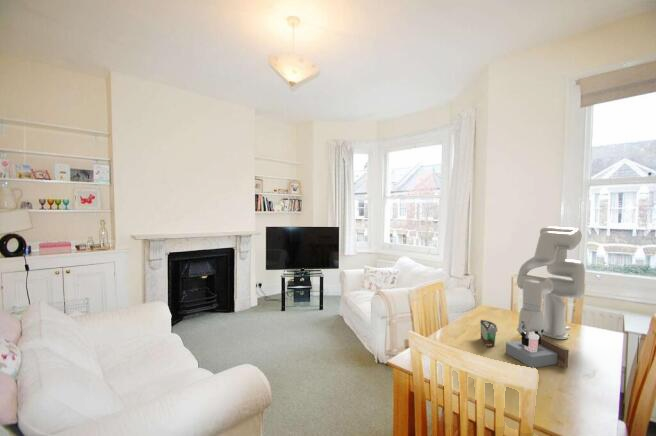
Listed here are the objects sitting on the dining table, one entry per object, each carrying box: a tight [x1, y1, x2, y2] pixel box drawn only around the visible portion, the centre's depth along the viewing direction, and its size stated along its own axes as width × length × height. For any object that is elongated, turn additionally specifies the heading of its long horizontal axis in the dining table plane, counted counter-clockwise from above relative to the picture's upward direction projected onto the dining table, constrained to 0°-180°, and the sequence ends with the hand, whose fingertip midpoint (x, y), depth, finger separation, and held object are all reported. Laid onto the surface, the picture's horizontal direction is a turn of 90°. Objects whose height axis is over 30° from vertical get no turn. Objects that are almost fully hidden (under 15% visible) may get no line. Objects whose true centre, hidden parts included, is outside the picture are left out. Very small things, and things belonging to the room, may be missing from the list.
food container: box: [480, 319, 498, 348], centre depth 151 cm, size 12×6×10 cm, turn 168°
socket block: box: [505, 339, 558, 369], centre depth 136 cm, size 14×14×5 cm
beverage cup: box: [524, 332, 539, 352], centre depth 136 cm, size 6×6×14 cm
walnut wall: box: [540, 336, 570, 369], centre depth 138 cm, size 2×20×8 cm, turn 14°
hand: (530, 343), depth 136 cm, fingers closed on beverage cup, 6 cm apart
